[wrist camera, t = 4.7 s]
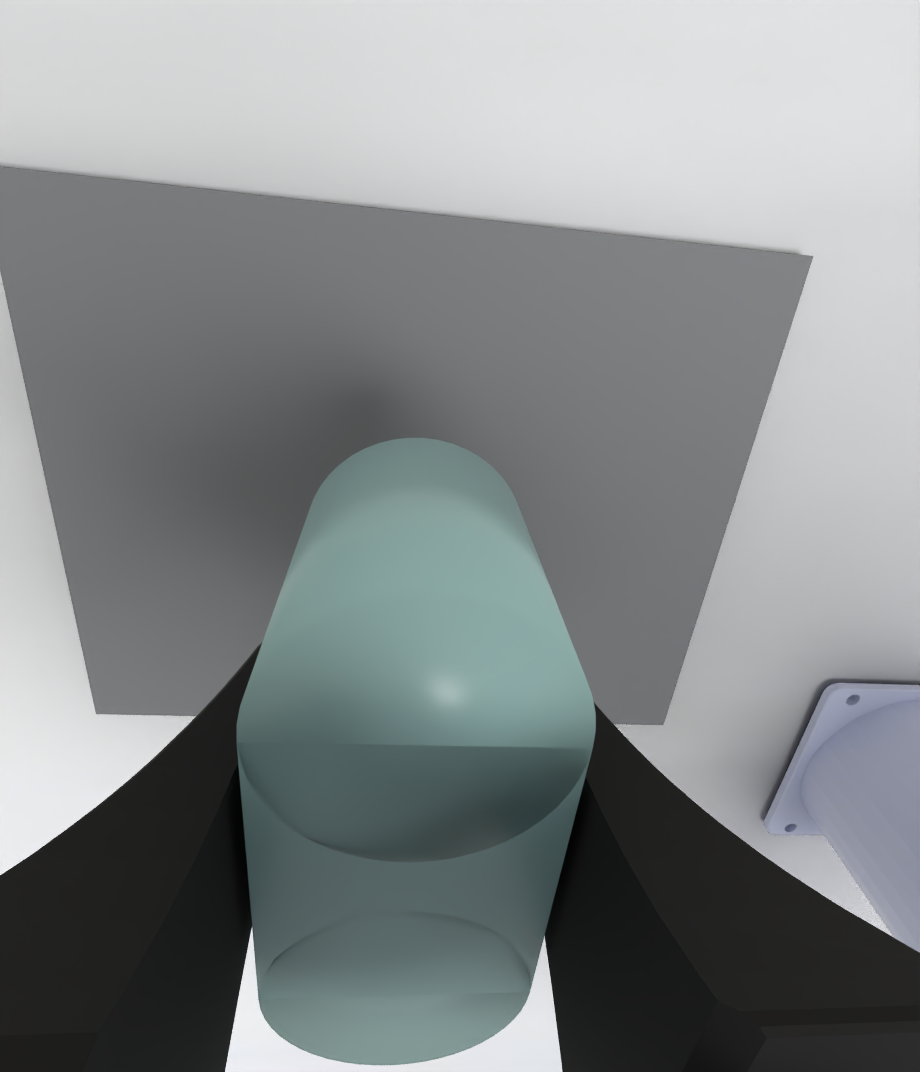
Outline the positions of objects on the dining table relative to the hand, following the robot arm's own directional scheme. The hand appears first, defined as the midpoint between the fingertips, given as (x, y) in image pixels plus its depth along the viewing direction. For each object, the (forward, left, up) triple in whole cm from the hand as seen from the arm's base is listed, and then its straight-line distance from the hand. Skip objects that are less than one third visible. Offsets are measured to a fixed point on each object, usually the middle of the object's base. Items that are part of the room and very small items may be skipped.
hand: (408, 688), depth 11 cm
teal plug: (0, +1, -1) cm, 2 cm away
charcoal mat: (0, 0, -8) cm, 8 cm away
